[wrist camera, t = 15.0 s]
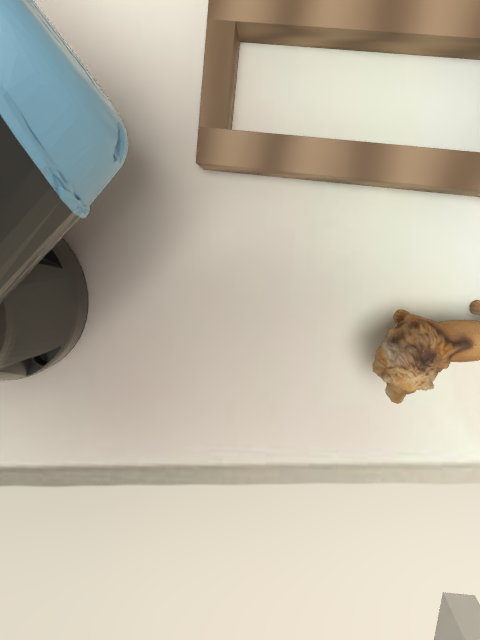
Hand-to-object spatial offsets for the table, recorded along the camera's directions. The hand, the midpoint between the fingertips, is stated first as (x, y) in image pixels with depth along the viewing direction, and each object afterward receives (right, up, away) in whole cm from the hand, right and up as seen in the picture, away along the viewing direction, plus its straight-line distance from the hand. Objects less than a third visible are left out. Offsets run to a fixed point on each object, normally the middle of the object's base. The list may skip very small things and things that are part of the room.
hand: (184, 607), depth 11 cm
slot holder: (+11, +24, +20) cm, 33 cm away
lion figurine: (+18, +6, +23) cm, 30 cm away
